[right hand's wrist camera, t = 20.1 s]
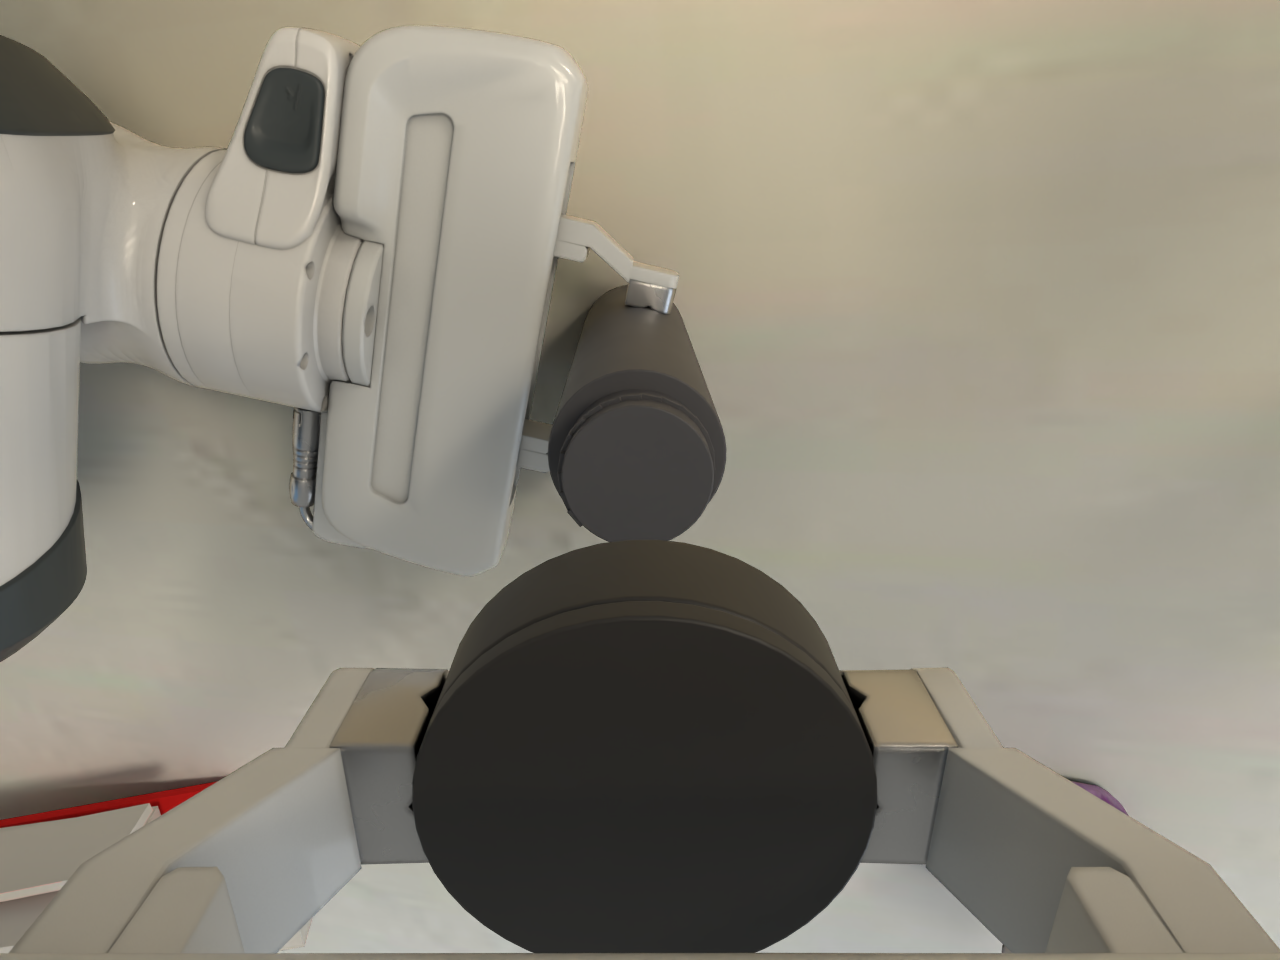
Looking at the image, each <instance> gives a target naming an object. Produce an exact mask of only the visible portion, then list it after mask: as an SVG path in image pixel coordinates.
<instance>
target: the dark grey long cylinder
mask: <svg viewBox="0 0 1280 960" xmlns="http://www.w3.org/2000/svg"><path fill="white" fill-rule="evenodd" d="M627 288H628V285H625V286H620V287H617V288H615V289H612V290H610V291H608V292H607V293H605V294H604V295H603V296H601V297H600V298H599V299H598V300H597V301H596V302H595V303H594V305H593V306H592V307H591V309H590V311H589V313H588V314H587V317H586V320H585V323H584V326H583V329H582V332H581V336H580V339H579V342H578V345H577V348H576V352H575V355H574V358H573V361H572V365H571V368H570V371H569V374H568V378H567V381H566V384H565V387H564V390H563V394H562V397H561V400H560V403H559V407H558V410H557V413H556V416H555V420H554V423H553V426H552V429H551V433H550V438H549V442H548V464H549V469H550V474H551V477H552V480H553V483H554V485H555V487H556V489H557V491H558V493H559V495H560V496H561V498H562V500H563V502H564V504H565V506H566V508H567V510H568V514H569V515H570V516H571V517H572V518H573V519H574V520H575V522H576V523H577V524H578V525H579V526H580V527H581V526H584V527H585V528H587V529H588V530H589V531H590V532H592V533H593V534H595V535H596V536H598V537H600V538H602V539H604V540H606V541H608V542H616V541H624V540H663V541H669V540H671V539H673V538H675V537H677V536H679V535H680V534H682V533H683V532H685V531H686V530H687V529H689V528H690V527H691V526H692V525H693V524H694V523H695V522H696V521H697V519H698V518H699V517H700V516H701V514H702V513H703V511H704V510H705V508H706V506H707V504H708V503H709V502H710V501H711V499H712V498H713V496H714V494H715V493H716V491H717V489H718V487H719V485H720V483H721V480H722V477H723V473H724V469H725V463H726V443H725V436H724V433H723V429H722V426H721V423H720V420H719V417H718V415H717V412H716V409H715V407H714V404H713V401H712V398H711V396H710V393H709V390H708V388H707V385H706V382H705V379H704V377H703V374H702V371H701V369H700V366H699V363H698V360H697V358H696V355H695V352H694V350H693V347H692V344H691V341H690V339H689V336H688V333H687V331H686V328H685V325H684V323H683V320H682V317H681V315H680V313H679V311H678V309H677V308H676V306H675V305H674V304H672V308H671V311H670V314H665V313H659V312H656V311H654V310H652V309H651V308H650V307H649V306H647V307H645V308H637V307H633V306H629V305H625V298H626V293H627Z"/></svg>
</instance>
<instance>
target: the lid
mask: <svg viewBox="0 0 1280 960" xmlns="http://www.w3.org/2000/svg"><path fill="white" fill-rule="evenodd" d="M877 801H878V798H877V776H876V771H875V766H874V761H873V756H872V752H871V750H870V747H869V745H868V742H867V740H866V737H865V734H864V732H863V729H862V727H861V724H860V722H859V719H858V717H857V714H856V712H855V709H854V707H853V704H852V702H851V699H850V697H849V694H848V692H847V689H846V687H845V684H844V682H843V679H842V677H841V674H840V672H839V669H838V667H837V664H836V662H835V659H834V657H833V654H832V652H831V649H830V647H829V644H828V642H827V640H826V638H825V636H824V635H823V633H822V631H821V630H820V628H819V626H818V624H817V623H816V621H815V620H814V619H813V617H812V616H811V615H810V614H809V612H808V611H807V610H806V609H805V608H804V606H803V605H802V604H801V603H800V602H799V601H798V600H797V599H796V598H795V597H794V596H793V595H792V594H791V593H790V592H788V591H787V590H786V589H785V588H784V587H783V586H782V585H780V584H779V583H778V582H776V581H775V580H773V579H772V578H770V577H769V576H768V575H766V574H765V573H763V572H762V571H760V570H758V569H756V568H754V567H752V566H750V565H748V564H746V563H745V562H743V561H741V560H739V559H737V558H734V557H731V556H729V555H726V554H723V553H720V552H718V551H715V550H712V549H709V548H704V547H700V546H696V545H691V544H687V543H681V542H672V541H663V540H624V541H616V542H609V543H601V544H597V545H593V546H589V547H585V548H581V549H577V550H573V551H571V552H568V553H565V554H563V555H560V556H558V557H555V558H552V559H550V560H548V561H546V562H544V563H542V564H540V565H538V566H536V567H535V568H533V569H531V570H529V571H527V572H525V573H524V574H522V575H521V576H519V577H518V578H517V579H515V580H514V581H513V582H511V583H510V584H508V585H507V586H506V587H504V588H503V589H502V590H501V591H500V592H499V593H498V594H497V595H496V596H495V597H494V598H493V599H491V600H490V601H489V602H488V603H487V604H486V605H485V607H484V608H483V609H482V610H481V612H480V613H479V614H478V615H477V617H476V618H475V619H474V621H473V622H472V623H471V625H470V626H469V628H468V630H467V632H466V634H465V635H464V637H463V639H462V641H461V642H460V644H459V647H458V650H457V652H456V655H455V657H454V660H453V663H452V665H451V668H450V671H449V673H448V676H447V678H446V681H445V684H444V686H443V689H442V692H441V694H440V697H439V699H438V702H437V705H436V707H435V710H434V713H433V715H432V718H431V720H430V723H429V726H428V728H427V731H426V733H425V736H424V739H423V742H422V744H421V747H420V750H419V752H418V755H417V759H416V764H415V769H414V775H413V780H412V807H413V813H414V820H415V826H416V831H417V834H418V837H419V840H420V843H421V846H422V849H423V852H424V853H425V855H426V857H427V859H428V861H429V863H430V865H431V867H432V869H433V871H434V873H435V874H436V876H437V877H438V878H439V880H440V881H441V882H442V884H443V885H444V887H445V888H446V889H447V891H448V892H449V893H450V894H451V895H452V896H453V897H454V899H455V900H456V901H457V902H458V903H459V904H460V905H461V906H462V907H463V908H464V909H465V910H466V911H467V912H468V913H470V914H471V915H472V916H473V917H475V918H476V919H477V920H478V921H479V922H481V923H482V924H483V925H484V926H486V927H487V928H489V929H490V930H492V931H494V932H495V933H497V934H498V935H500V936H501V937H503V938H504V939H506V940H508V941H510V942H512V943H514V944H516V945H518V946H520V947H522V948H524V949H526V950H528V951H530V952H533V953H755V952H758V951H760V950H763V949H765V948H767V947H769V946H771V945H773V944H774V943H776V942H778V941H780V940H782V939H784V938H786V937H788V936H789V935H791V934H792V933H794V932H795V931H797V930H798V929H800V928H801V927H803V926H804V925H806V924H807V923H808V922H810V921H811V920H812V919H813V918H814V917H815V916H817V915H818V914H819V913H820V912H821V911H822V910H824V909H825V908H826V907H827V906H828V905H829V904H830V903H831V902H832V900H833V899H834V898H835V897H836V896H837V895H838V894H839V893H840V892H841V891H842V890H843V888H844V887H845V885H846V884H847V882H848V881H849V880H850V878H851V877H852V875H853V874H854V872H855V871H856V869H857V868H858V865H859V863H860V861H861V859H862V857H863V855H864V853H865V851H866V849H867V847H868V844H869V840H870V837H871V834H872V831H873V828H874V823H875V816H876V808H877Z"/></svg>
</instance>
